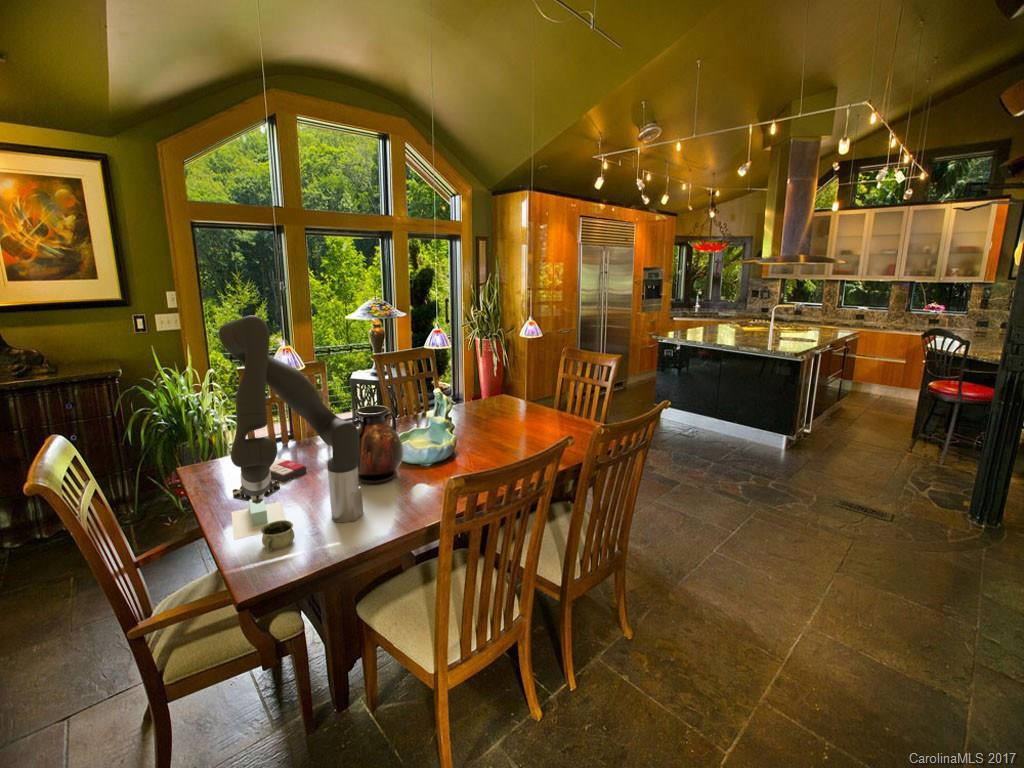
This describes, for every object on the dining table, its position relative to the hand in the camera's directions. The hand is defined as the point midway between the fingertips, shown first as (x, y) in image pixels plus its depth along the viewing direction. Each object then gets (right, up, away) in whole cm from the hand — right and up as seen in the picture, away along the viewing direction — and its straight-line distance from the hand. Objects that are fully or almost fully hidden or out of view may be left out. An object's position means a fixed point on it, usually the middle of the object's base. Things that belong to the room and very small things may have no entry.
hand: (257, 500), depth 153 cm
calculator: (-13, -1, +46) cm, 48 cm away
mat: (-4, -9, +8) cm, 13 cm away
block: (-1, -7, +4) cm, 8 cm away
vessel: (+10, -12, -6) cm, 17 cm away
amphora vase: (+25, -1, +42) cm, 49 cm away
